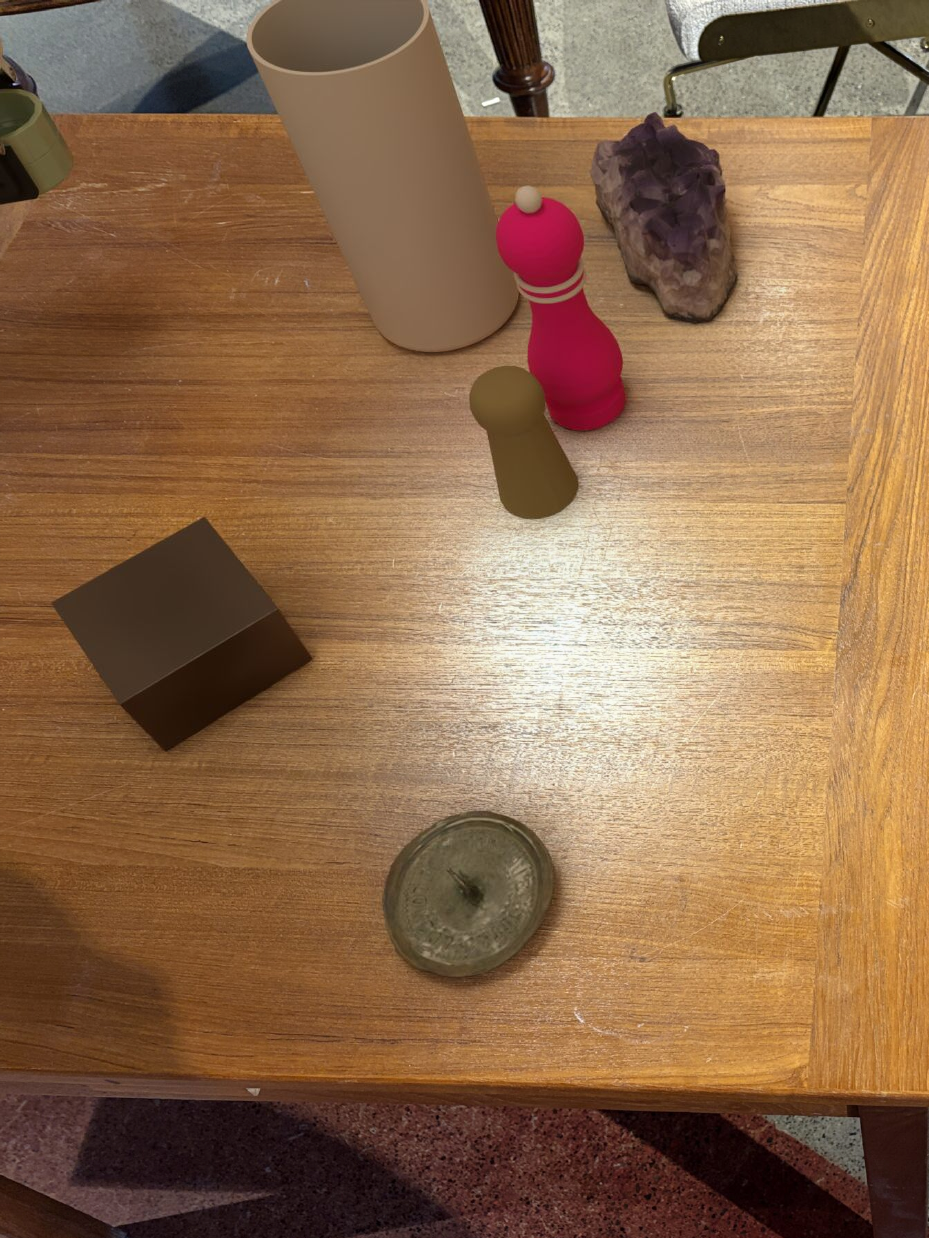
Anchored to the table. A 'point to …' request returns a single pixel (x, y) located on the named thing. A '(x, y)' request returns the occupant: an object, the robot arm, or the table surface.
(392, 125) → the cylinder vase
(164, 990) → the table surface
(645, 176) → the geode
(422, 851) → the lid
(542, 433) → the brown peg doll
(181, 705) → the stand
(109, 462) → the table surface
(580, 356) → the pepper mill
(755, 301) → the table surface
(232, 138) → the table surface
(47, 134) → the bowl
